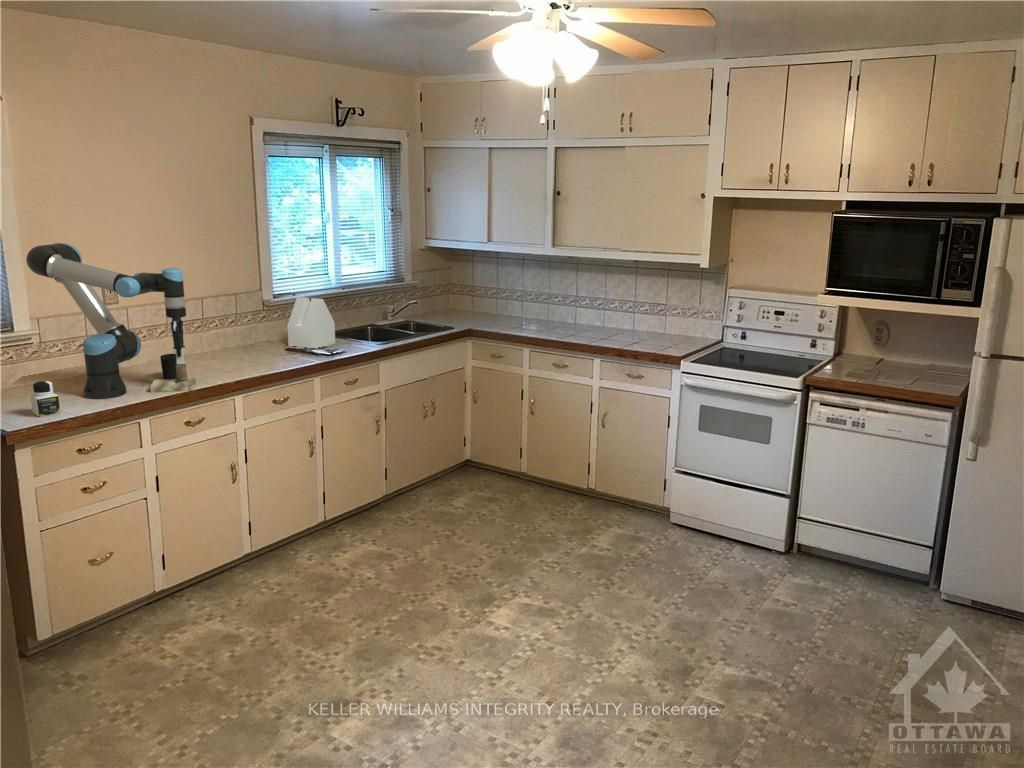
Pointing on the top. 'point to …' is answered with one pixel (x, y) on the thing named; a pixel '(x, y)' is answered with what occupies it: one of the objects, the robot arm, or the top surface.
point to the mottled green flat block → (172, 385)
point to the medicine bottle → (44, 399)
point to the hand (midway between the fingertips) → (180, 363)
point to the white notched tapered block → (310, 324)
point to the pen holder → (169, 366)
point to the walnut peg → (181, 373)
